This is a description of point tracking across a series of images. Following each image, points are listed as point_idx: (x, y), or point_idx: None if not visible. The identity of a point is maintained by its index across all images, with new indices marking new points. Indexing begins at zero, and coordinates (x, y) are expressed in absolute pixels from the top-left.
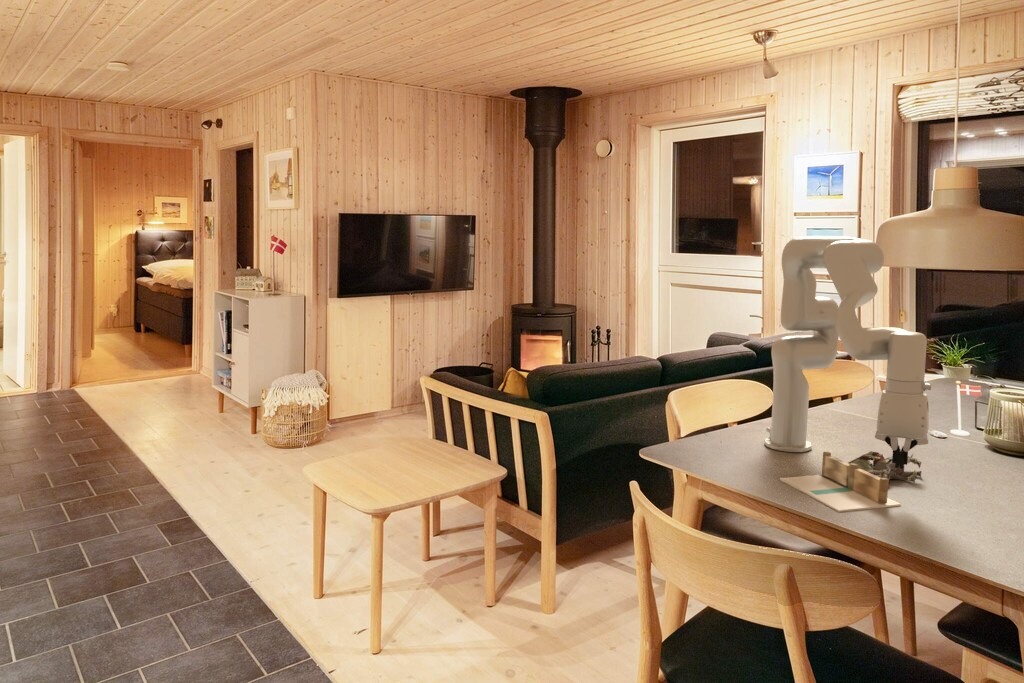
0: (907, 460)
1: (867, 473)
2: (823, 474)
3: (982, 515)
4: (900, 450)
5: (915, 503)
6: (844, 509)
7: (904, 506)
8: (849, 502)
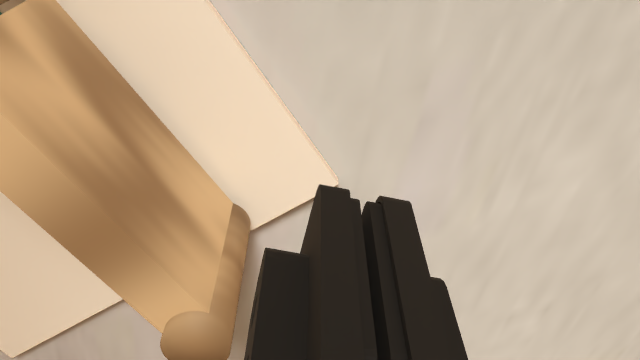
0: (446, 299)
1: (45, 196)
2: None
3: None
4: (373, 353)
5: (448, 100)
6: (35, 342)
7: (360, 177)
8: (38, 245)
